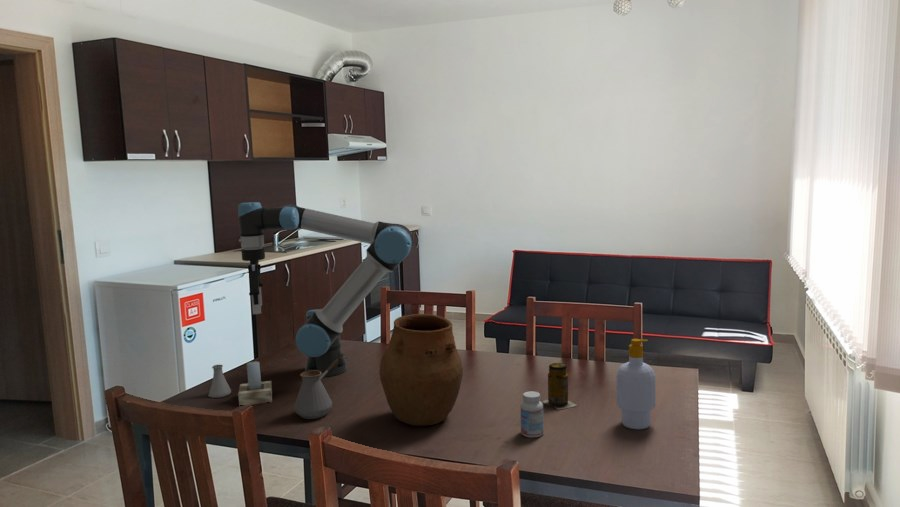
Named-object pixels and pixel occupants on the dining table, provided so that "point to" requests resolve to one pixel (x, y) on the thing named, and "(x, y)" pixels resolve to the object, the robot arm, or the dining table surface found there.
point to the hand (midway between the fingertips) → (257, 309)
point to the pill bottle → (532, 415)
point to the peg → (254, 375)
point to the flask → (219, 383)
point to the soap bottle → (636, 388)
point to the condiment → (558, 387)
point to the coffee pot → (314, 394)
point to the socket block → (255, 394)
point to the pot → (421, 369)
